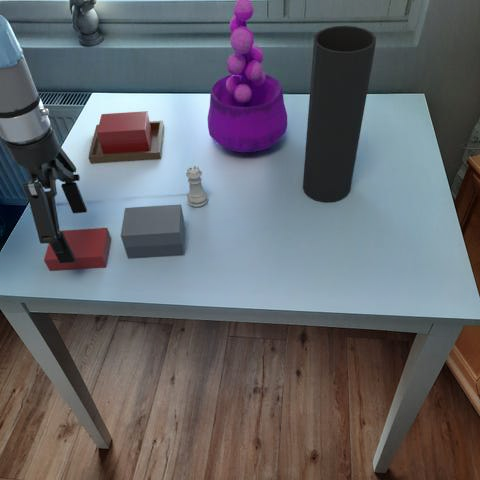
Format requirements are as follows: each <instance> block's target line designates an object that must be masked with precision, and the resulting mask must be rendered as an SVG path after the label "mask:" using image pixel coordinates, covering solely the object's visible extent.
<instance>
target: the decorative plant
mask: <svg viewBox="0 0 480 480" xmlns="http://www.w3.org/2000/svg"><path fill="white" fill-rule="evenodd" d="M233 15H234V16H232V17H231V19H230V21H229V31H230V33H231V34H230V39H229V40H230V43H229V44H230V46H231V49H232V50H233V51H234V52H233V54H231V55H230V56H229V57H228V59H227V61H226V68H227V71H228V73H229V74H228V75H226V76H224V77H222V78H220V79H218V80H217V81H216V82H215V83H213V85H212V87H211V89H210V93H209V95H210V96H209V108H208V113H207V129H208V134H209V136H210V137H211V139H213V140H214V142H216V143H217V144H218V145H219V146H220V147H222V148H224V149H227V150H228V151H233V152H238V153H255V152H260V151H263V150H266V149H268V148H270V147H272V146H275V144H276V143H277V142H278V141H280V139H281V138H282V137H283V136H284V135H285V134H286V132H287V128H288V113H287V109H286V105H285V98H284V93H283V86H282V85H281V83H280V82H279V81H278V80H277V79H276V78H274V77H273V76H271V75H270V74H266V72H265V70H264V69H263V65H262V64H261V63H262V62H263V61H264V51H263V49H262V48H261V47H260V46H258V45H255V37H254V33H253V32H252V30H251V29H249V28H248V25H247V21H249V20H250V19H251V18H252V17H253V15H254V7H253V3H252V2H251V0H236V2H235V4H234V7H233Z"/></svg>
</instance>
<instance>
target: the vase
mask: <svg viewBox="0 0 480 480" xmlns="http://www.w3.org/2000/svg"><path fill="white" fill-rule="evenodd" d="M376 45H377V37H376V36H375V35H374V33H373V32H371V31H370V30H368V29H366V28H362V27H358V26H352V25H336V26H335V25H334V26H331V27H330V26H329V27H326V28H324V29H322V30H319V31H318V32H317V33H316V34H315V35H314V37H313V46H312V59H311V70H310V71H311V72H310V73H311V74H310V84H309V85H310V86H309V99H308V100H309V101H308V110H307V111H308V112H307V125H306V138H305V139H306V140H305V151H304V153H305V154H304V164H303V165H304V167H303V179H302V189H303V192H304V194H305V195H306V196H307V197H308V198H310V199H313V200H314V201H318V202H321V203H334V202H337V201H342V200H343V199H345V198H346V197H347V196H348V195H349V194H350V192H351V187H352V182H353V175H354V171H355V166H356V160H357V153H358V149H359V148H358V147H359V142H360V137H361V130H362V124H363V119H364V113H365V108H366V107H365V106H366V100H367V96H368V90H369V85H370V84H369V83H370V79H371V73H372V67H373V62H374V56H375V51H376Z"/></svg>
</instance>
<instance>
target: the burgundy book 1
mask: <svg viewBox="0 0 480 480" xmlns="http://www.w3.org/2000/svg"><path fill="white" fill-rule="evenodd" d="M60 232H63V234H64V236H65V238H66V240H67V242H68V244H69V246H70V248H71V251H72V253H73V255H74V257H75V259H76V260H75V262H69V263H60V262H59V260H58V258H57V256H56V254H55V253H54V251H53V249H52V247H51V245H50V243H47V247H46V251H45V254H44V258H43V261H44V263H45V265H46V267H47V269H48V270H49V271H50V272H52V271H54V272H55V271H68V270H70V271H71V270H85V269H87V270H88V269H100V268H101V269H102V268H107V264H108V259H109V255H110V248H111V242H112V236H111V234H110V231H109V228H108V227H97V228H95V227H94V228H80V229H66V230H65V229H64V230H63V229H62V230H60Z"/></svg>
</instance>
